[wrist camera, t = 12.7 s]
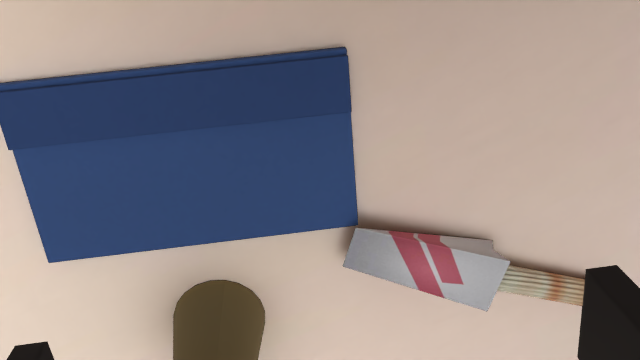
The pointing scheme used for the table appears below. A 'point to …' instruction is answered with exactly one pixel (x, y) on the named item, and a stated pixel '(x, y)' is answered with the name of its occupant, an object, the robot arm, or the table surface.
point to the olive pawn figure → (218, 323)
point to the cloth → (185, 152)
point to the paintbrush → (453, 268)
